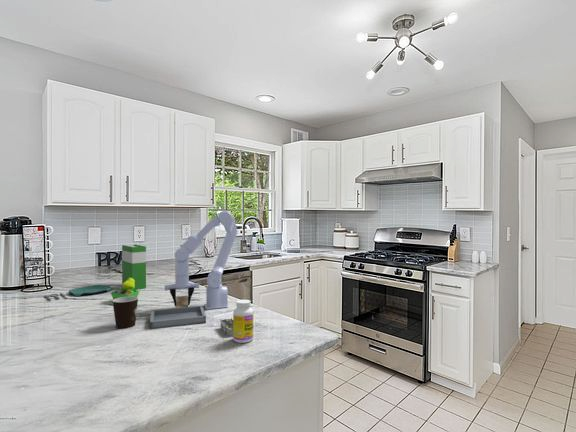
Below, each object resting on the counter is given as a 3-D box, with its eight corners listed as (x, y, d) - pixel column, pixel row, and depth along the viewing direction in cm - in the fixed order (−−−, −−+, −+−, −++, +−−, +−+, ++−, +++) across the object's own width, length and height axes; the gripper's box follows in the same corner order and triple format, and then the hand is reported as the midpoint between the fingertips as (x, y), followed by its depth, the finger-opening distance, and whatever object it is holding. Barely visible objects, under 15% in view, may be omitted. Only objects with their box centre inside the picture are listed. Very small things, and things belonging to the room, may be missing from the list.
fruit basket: (109, 303, 156) (109, 279, 156) (125, 298, 164) (125, 276, 164) (127, 305, 151) (127, 281, 151) (142, 300, 160) (142, 277, 160)
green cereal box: (122, 285, 194) (122, 245, 194) (135, 283, 199) (135, 244, 199) (132, 290, 182) (132, 247, 182) (146, 288, 187) (145, 246, 187)
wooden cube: (187, 306, 149) (187, 295, 149) (188, 309, 145) (188, 298, 145) (176, 307, 148) (176, 296, 148) (176, 310, 143) (176, 299, 143)
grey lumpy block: (247, 334, 115) (247, 323, 115) (226, 338, 111) (227, 326, 111) (238, 325, 124) (238, 314, 124) (218, 328, 121) (218, 317, 121)
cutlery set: (116, 292, 178) (115, 288, 178) (48, 303, 157) (48, 298, 157) (105, 287, 192) (105, 283, 192) (42, 296, 171) (41, 292, 171)
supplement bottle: (244, 345, 104) (244, 305, 104) (229, 341, 108) (228, 302, 108) (257, 338, 110) (257, 300, 110) (242, 334, 114) (242, 297, 114)
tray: (202, 311, 141) (202, 305, 141) (205, 322, 126) (205, 316, 126) (152, 316, 135) (152, 310, 135) (149, 328, 120) (149, 322, 120)
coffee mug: (127, 330, 118) (127, 302, 118) (107, 329, 120) (107, 301, 120) (147, 320, 129) (147, 295, 129) (128, 319, 131) (128, 294, 131)
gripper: (198, 272, 152) (198, 301, 152) (164, 274, 148) (164, 304, 148) (199, 274, 146) (199, 305, 146) (164, 277, 141) (164, 308, 141)
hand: (182, 305), depth 146 cm, fingers closed on wooden cube, 5 cm apart
